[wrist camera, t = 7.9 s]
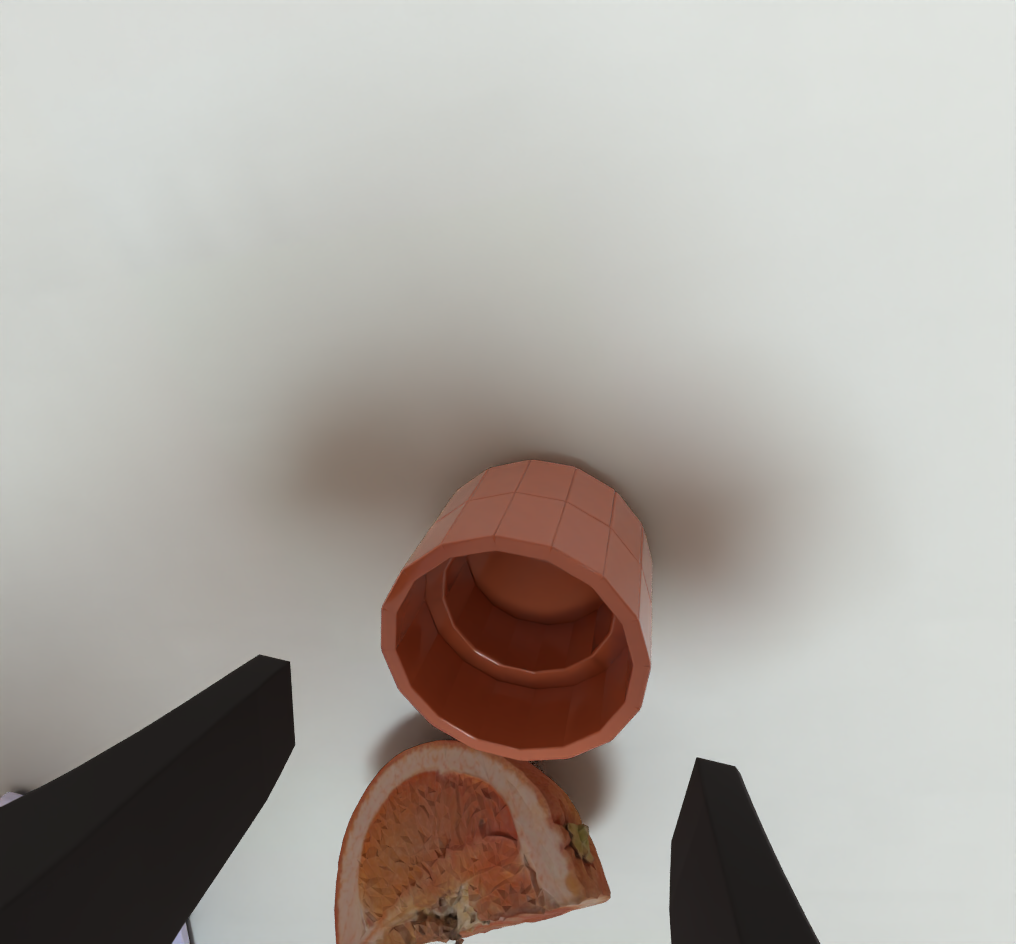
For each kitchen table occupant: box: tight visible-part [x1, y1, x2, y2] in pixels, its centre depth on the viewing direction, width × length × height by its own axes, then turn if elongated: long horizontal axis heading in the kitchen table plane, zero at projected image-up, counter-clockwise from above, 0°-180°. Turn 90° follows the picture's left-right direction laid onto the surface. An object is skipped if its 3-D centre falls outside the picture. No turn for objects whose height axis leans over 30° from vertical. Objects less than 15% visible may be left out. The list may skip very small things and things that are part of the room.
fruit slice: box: [334, 740, 611, 944], centre depth 19 cm, size 8×7×5 cm
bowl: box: [381, 459, 653, 761], centre depth 15 cm, size 6×6×4 cm
